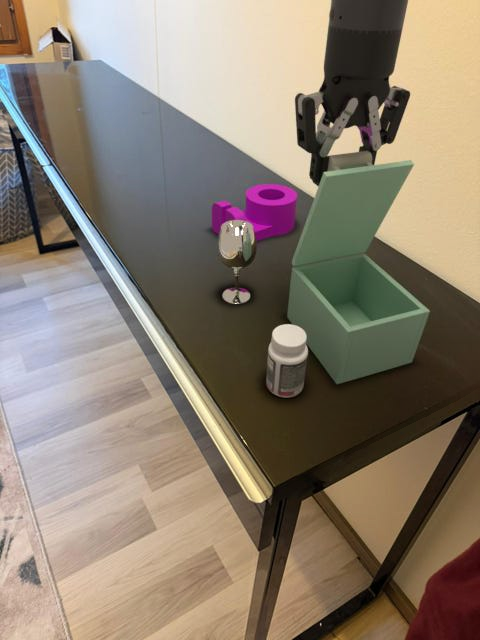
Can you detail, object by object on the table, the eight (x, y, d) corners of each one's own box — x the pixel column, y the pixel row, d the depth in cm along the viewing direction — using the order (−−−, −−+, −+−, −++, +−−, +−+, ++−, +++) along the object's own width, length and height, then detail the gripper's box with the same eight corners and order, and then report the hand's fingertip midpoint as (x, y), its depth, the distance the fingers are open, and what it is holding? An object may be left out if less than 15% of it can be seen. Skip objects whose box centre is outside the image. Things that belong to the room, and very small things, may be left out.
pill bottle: (309, 380, 58) (317, 330, 53) (292, 404, 55) (299, 354, 50) (277, 366, 60) (281, 316, 55) (258, 388, 57) (261, 338, 52)
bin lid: (414, 164, 53) (392, 135, 55) (326, 176, 49) (306, 145, 52) (365, 252, 66) (349, 225, 68) (293, 266, 62) (278, 238, 65)
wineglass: (210, 296, 72) (208, 228, 64) (234, 281, 75) (235, 214, 68) (238, 311, 69) (239, 241, 62) (261, 294, 73) (265, 226, 65)
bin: (412, 362, 61) (430, 310, 55) (336, 384, 58) (348, 332, 52) (353, 301, 72) (363, 252, 66) (286, 317, 68) (291, 267, 63)
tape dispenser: (273, 208, 97) (275, 180, 93) (304, 227, 91) (307, 197, 87) (210, 228, 90) (209, 198, 86) (239, 249, 83) (239, 218, 79)
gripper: (321, 29, 42) (303, 201, 53) (446, 24, 46) (406, 185, 57) (286, 19, 47) (276, 177, 58) (401, 16, 52) (371, 164, 62)
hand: (340, 180), depth 57 cm, fingers open, 5 cm apart
